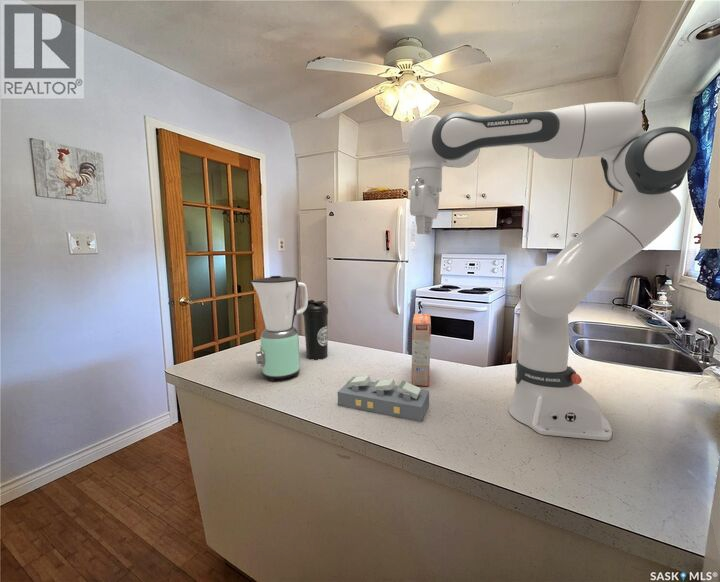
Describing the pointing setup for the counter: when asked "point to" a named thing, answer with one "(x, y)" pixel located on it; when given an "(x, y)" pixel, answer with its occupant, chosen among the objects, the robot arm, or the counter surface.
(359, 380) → the switch
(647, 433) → the counter surface
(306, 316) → the water bottle
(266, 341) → the blender
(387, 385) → the switch
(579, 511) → the counter surface
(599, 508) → the counter surface
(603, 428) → the robot arm
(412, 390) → the switch
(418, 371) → the cracker box
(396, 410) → the switch unit
